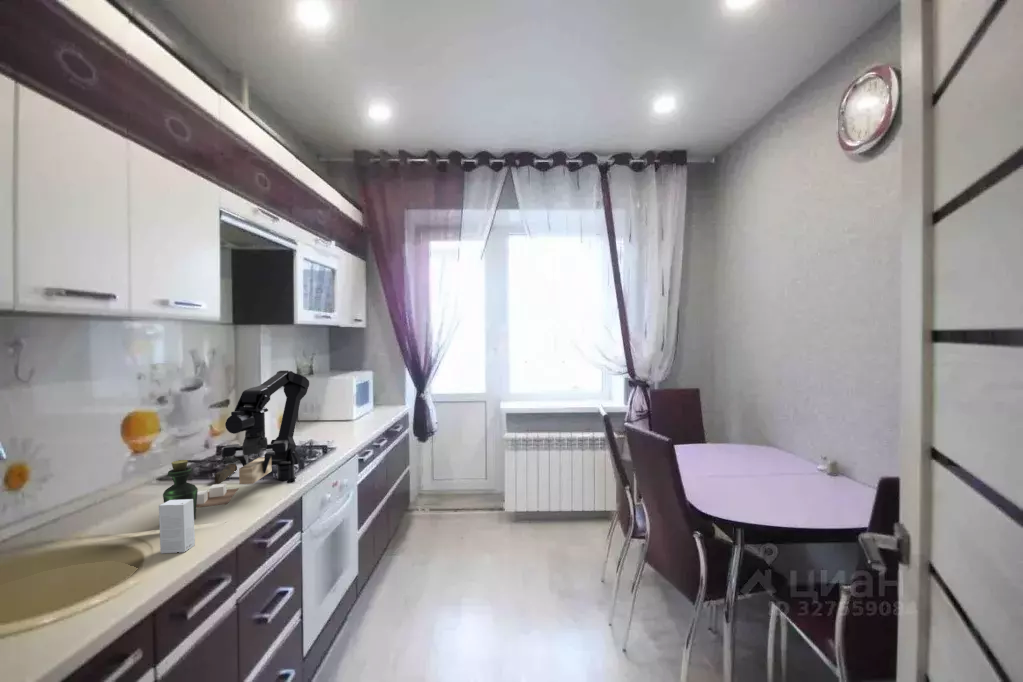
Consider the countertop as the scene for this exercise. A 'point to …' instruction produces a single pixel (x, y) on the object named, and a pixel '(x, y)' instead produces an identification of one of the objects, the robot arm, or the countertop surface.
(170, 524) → the skincare box
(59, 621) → the countertop surface
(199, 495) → the white square block
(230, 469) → the hand tool
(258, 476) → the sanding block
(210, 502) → the walnut board
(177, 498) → the potion bottle
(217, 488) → the plain white cube
